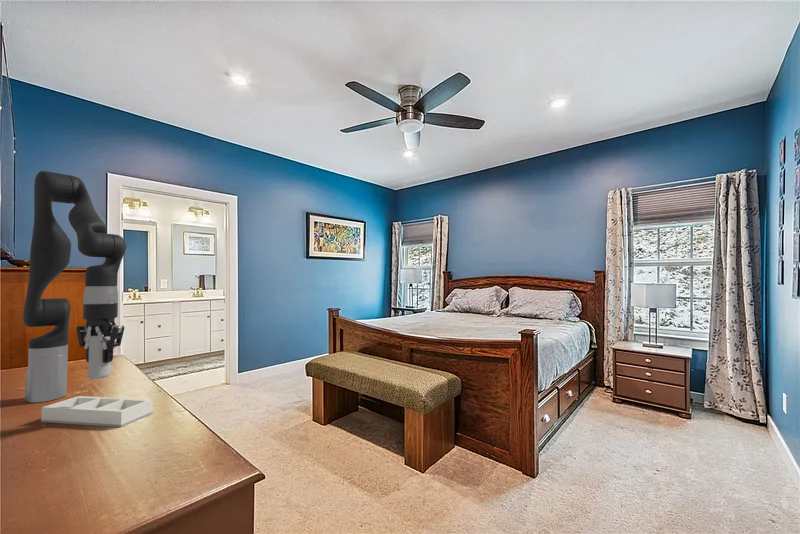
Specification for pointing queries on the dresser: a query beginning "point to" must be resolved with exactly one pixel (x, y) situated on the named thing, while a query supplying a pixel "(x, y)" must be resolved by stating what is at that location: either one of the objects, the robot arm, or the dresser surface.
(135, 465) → the dresser surface
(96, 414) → the can caddy
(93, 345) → the beverage can
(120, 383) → the dresser surface
